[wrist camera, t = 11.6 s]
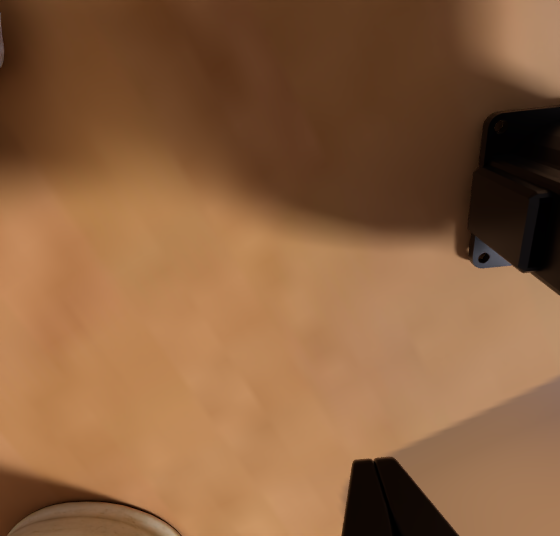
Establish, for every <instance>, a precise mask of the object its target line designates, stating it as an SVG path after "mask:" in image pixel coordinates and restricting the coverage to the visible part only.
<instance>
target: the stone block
mask: <svg viewBox="0 0 560 536" xmlns="http://www.w3.org/2000/svg"><path fill="white" fill-rule="evenodd" d="M3 60H4V42H3V37H2V27H1V12H0V68H1V66H2V64H3Z"/></svg>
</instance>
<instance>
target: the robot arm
mask: <svg viewBox="0 0 560 536" xmlns="http://www.w3.org/2000/svg"><path fill="white" fill-rule="evenodd" d="M500 120H501V121H502V123H503V126H502V128H501V129H500V130H499V131H498V132H495V128H494V127H495V125H496V123H497V122H498V121H500ZM468 230H469V231H470V232H471V238H470V247H469V255H468V256H469V260H470V262H471V263H472V264H473V265H474V266H476V267H478V268H490V267H500V266H511V265H513V266H514V267H515V268H516V269H518V270H519V271H520V272H522V273H529V272H530V273H531V274H532V275H534V276H535V277H536V278H537V279H539V280H540V281H541V282H543V283H544V284H545V285H547V286H548V287H549V288H550V289H552V290H553V291H554V292H556V293H557V294H558V295H559V296H560V105H558V106H549V107H540V108H530V109H521V110H512V111H503V112H496V113H493V114H491V115H490V116H489V117H488V118H487V119H486V121H485V122H484V126H483V132H482V141H481V150H480V158H479V167H478V168H477V169H476V170H475V172H474V173H473V181H472V190H471V199H470V209H469V218H468ZM482 253H486V254H485V256H484V257H483V258H482V259H479V260H478V257H479V256H480V255H481V254H482ZM342 536H459V535H458V534H457V533H456V531H455V530H454V529H453V528H452V527H451V525H450V524H449V523H448V522H447V521H446V520H445V518H444V517H443V516H442V514H441V513H440V512H439V511H438V510H437V508H436V507H435V506H434V505H433V504H432V503H431V501H430V500H429V499H428V498H427V496H426V495H425V494H424V493H423V491H422V490H421V489H420V488H419V487H418V486H417V484H416V483H415V482H414V481H413V480H412V478H411V477H410V476H409V475H408V473H407V472H406V471H405V470H404V469H403V467H402V466H401V465H400V464H399V462H398V461H397V460H396V459H395V458H393V457H381V458H375V459H374V461H373V460H372V459H359V460H354V461H353V463H352V469H351V475H350V482H349V489H348V496H347V502H346V509H345V516H344V522H343V529H342Z"/></svg>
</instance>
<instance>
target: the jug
mask: <svg viewBox="0 0 560 536" xmlns="http://www.w3.org/2000/svg"><path fill="white" fill-rule="evenodd" d="M7 536H181V535H180V534H179V533H178V532H177V531H176V530H175V529H174V528H172V527H171V526H170V525H168V524H167V523H165V522H164V521H162V520H160V519H158V518H157V517H155V516H153V515H151V514H148V513H145V512H142V511H140V510H136V509H133V508H130V507H127V506H124V505H118V504H112V503H106V502H88V501H87V502H68V503H63V504H57V505H52V506H48V507H45V508H43V509H40V510H38V511H36V512H34V513H32V514H30V515H28V516H27V517H25V518H24V519H22V520H21V521H20V522H19V523H18V524H17V525H15V526H14V527H13V529H12V530H11V531H10V532H9V534H8V535H7Z"/></svg>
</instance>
